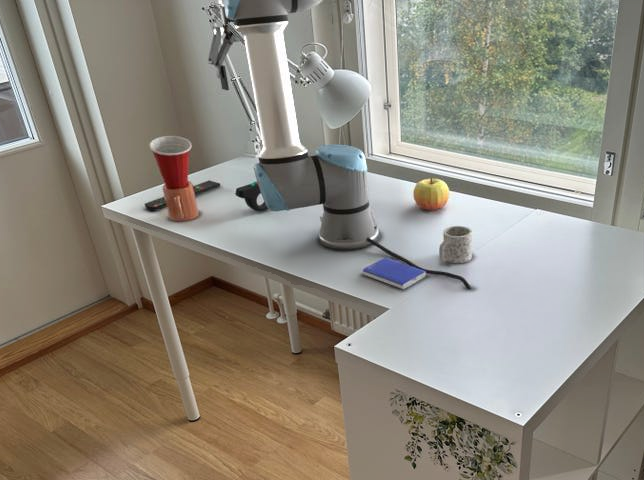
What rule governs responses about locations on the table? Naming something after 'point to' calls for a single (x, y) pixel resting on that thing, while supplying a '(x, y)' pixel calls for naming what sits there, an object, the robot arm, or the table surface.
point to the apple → (431, 194)
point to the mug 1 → (181, 203)
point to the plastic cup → (172, 159)
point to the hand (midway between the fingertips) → (246, 85)
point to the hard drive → (394, 273)
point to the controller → (251, 196)
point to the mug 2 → (456, 245)
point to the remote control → (197, 190)
